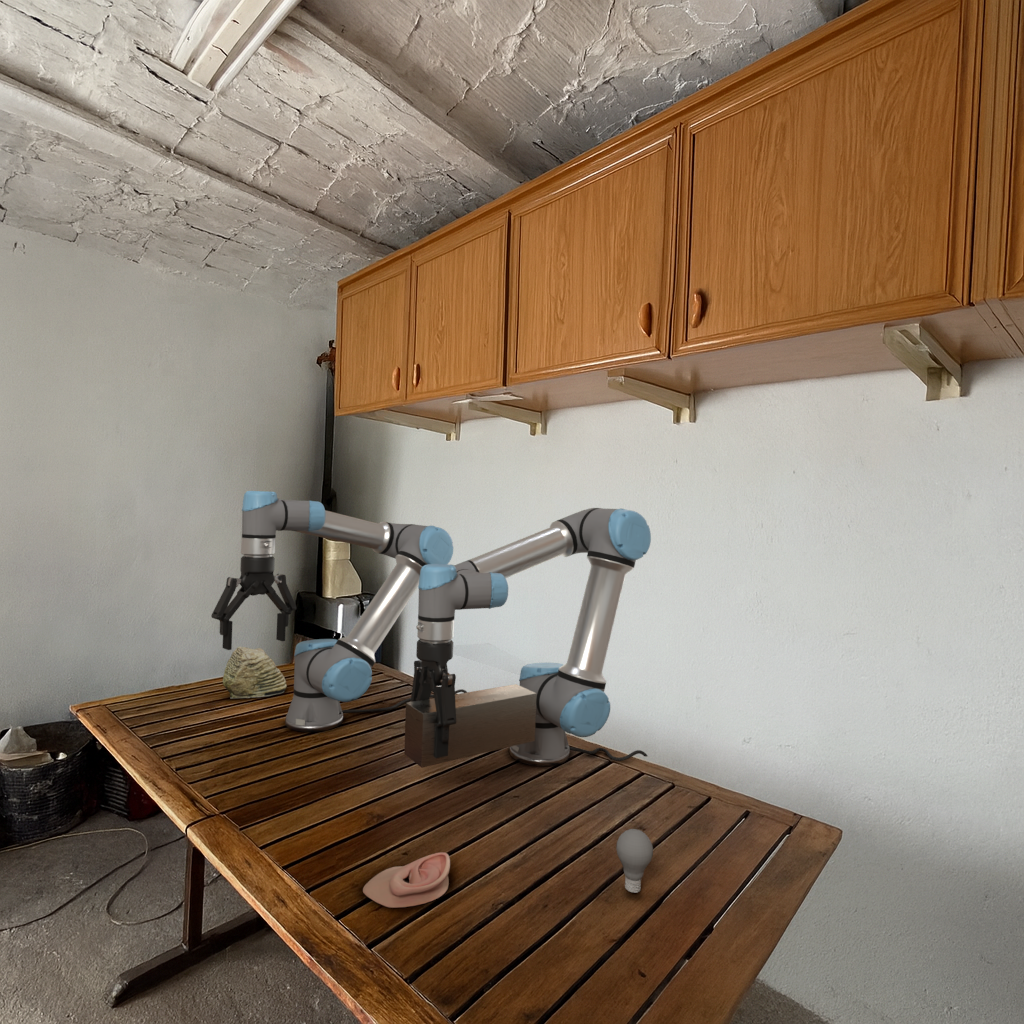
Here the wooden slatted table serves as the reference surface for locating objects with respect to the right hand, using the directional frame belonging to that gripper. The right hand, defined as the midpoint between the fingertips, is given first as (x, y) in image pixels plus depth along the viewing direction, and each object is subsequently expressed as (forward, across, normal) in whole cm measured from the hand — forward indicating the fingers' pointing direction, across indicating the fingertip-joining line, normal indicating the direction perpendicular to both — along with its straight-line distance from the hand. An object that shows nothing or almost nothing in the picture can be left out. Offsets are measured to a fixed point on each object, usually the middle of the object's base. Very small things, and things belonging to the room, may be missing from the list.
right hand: (431, 748), depth 131 cm
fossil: (+12, -91, -13) cm, 93 cm away
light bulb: (+12, +42, +16) cm, 47 cm away
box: (+2, 0, +10) cm, 10 cm away
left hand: (-15, -43, -25) cm, 52 cm away
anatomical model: (+12, +22, -16) cm, 30 cm away
